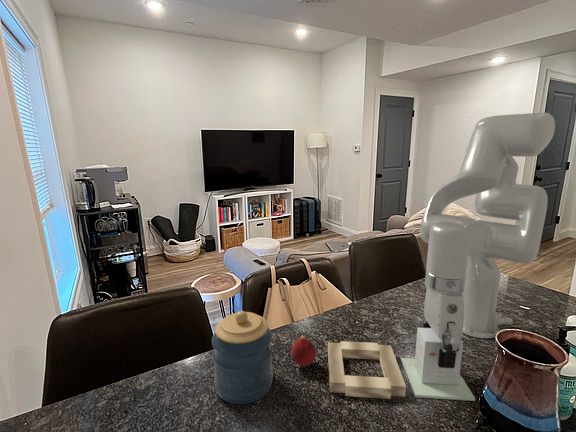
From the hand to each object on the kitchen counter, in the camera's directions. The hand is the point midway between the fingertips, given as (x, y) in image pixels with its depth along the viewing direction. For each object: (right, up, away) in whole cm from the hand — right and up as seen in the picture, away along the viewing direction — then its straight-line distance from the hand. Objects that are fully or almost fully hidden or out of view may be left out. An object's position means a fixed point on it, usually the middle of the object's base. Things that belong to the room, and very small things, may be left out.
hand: (437, 352), depth 70 cm
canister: (-43, -7, +1) cm, 44 cm away
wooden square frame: (-16, -6, +4) cm, 17 cm away
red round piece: (-30, -6, +6) cm, 31 cm away
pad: (0, -7, +1) cm, 7 cm away
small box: (0, -6, +1) cm, 6 cm away
